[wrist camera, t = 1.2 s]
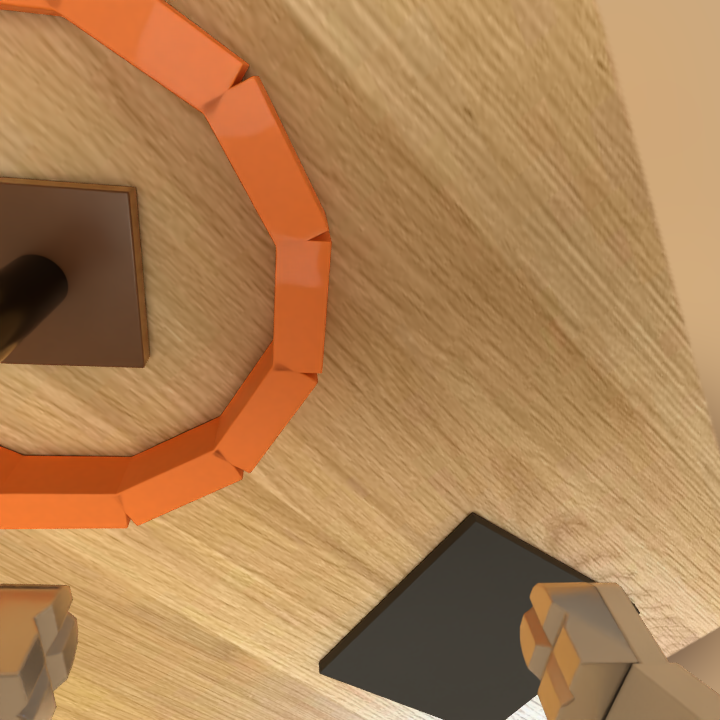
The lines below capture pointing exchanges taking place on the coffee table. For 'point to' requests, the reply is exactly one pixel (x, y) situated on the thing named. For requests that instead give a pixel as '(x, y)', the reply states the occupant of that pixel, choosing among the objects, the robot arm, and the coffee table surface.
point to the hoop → (291, 303)
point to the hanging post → (71, 275)
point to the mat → (453, 628)
